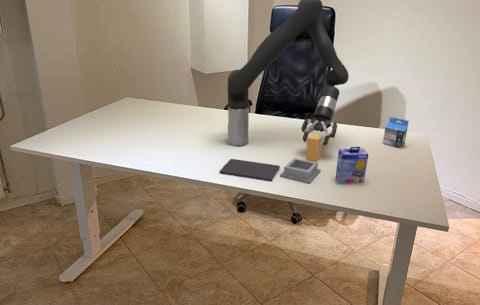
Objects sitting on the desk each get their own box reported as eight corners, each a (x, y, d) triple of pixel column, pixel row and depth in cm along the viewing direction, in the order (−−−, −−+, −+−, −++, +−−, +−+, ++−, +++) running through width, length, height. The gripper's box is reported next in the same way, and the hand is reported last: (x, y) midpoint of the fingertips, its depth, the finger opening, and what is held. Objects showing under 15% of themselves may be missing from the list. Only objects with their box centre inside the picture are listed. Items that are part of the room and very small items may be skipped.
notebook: (219, 174, 154) (272, 183, 148) (219, 171, 154) (272, 179, 147) (230, 161, 165) (280, 169, 159) (230, 158, 165) (280, 165, 158)
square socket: (280, 176, 151) (280, 167, 150) (292, 165, 161) (292, 156, 159) (309, 184, 146) (310, 174, 144) (320, 171, 156) (321, 162, 154)
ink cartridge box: (338, 184, 146) (343, 148, 140) (334, 178, 151) (338, 142, 145) (365, 183, 146) (370, 147, 141) (359, 177, 151) (364, 141, 146)
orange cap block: (306, 159, 166) (307, 137, 162) (309, 156, 170) (311, 134, 166) (316, 162, 164) (318, 139, 160) (319, 158, 168) (321, 136, 164)
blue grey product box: (382, 143, 183) (385, 118, 178) (385, 141, 185) (389, 116, 180) (401, 148, 177) (405, 122, 172) (404, 146, 180) (409, 120, 175)
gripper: (307, 102, 168) (296, 136, 164) (340, 107, 162) (329, 142, 157) (311, 111, 175) (300, 143, 170) (343, 116, 168) (332, 150, 164)
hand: (314, 143), depth 164 cm, fingers open, 8 cm apart
